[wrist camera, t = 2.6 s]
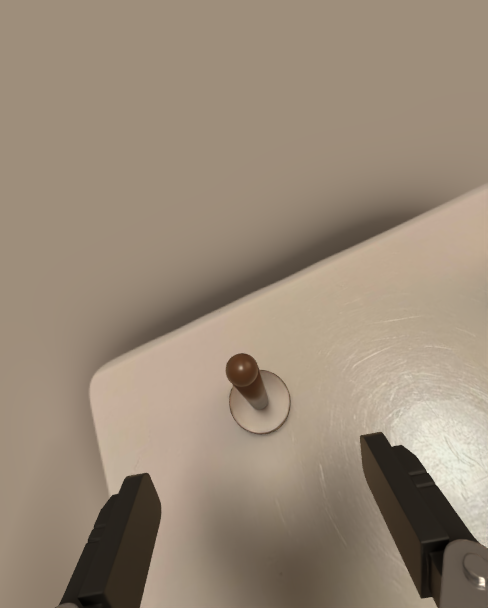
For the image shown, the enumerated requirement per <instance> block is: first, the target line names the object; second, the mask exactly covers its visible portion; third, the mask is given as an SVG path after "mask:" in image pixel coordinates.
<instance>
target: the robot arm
mask: <svg viewBox="0 0 488 608" xmlns="http://www.w3.org/2000/svg"><path fill="white" fill-rule="evenodd" d="M360 444H361V455H362V466H363V471H364V475H365V478H366V481H367V483H368V486H369V488H370V490H371V492H372V494H373V496H374V499H375V501H376V503H377V505H378V507H379V509H380V511H381V514H382V516H383V518H384V520H385V522H386V524H387V526H388V529H389V531H390V533H391V535H392V537H393V539H394V541H395V544H396V546H397V548H398V550H399V552H400V554H401V556H402V559H403V561H404V563H405V565H406V567H407V569H408V571H409V574H410V576H411V578H412V580H413V582H414V584H415V586H416V589H417V591H418V593H419V595H420V597H421V598H428V597H433V599H434V601H435V603H436V605H437V607H438V608H488V548H486V547H485V546H483V545H481V544H480V543H479V542H478V541H477V540H476V539H475V538H474V537H473V535H472V534H471V533H470V531H469V530H468V529H467V527H466V526H465V524H464V523H463V521H462V520H461V519H460V517H459V516H458V514H457V513H456V512H455V510H454V509H453V507H452V506H451V505H450V503H449V502H448V500H447V499H446V497H445V496H444V495H443V493H442V492H441V490H440V489H439V488H438V486H437V485H435V482H434V481H433V479H432V478H431V476H430V475H429V473H427V472H426V469H425V468H424V466H423V465H422V464H421V462H420V461H419V459H418V458H417V457H416V456H415V455H414V454H413V453H412V452H410V451H409V450H408V449H406V448H405V447H404V446H402V445H399V446H393V447H392V446H391V445H390V443H389V442H388V440H387V439H386V437H385V435H384V434H383V433H382V432H377V433H371V434H366V435H361V436H360ZM160 520H161V503H160V499H159V497H158V494H157V492H156V489H155V487H154V485H153V482H152V480H151V477H150V475H149V474H148V473H143V474H137V475H131V476H127V477H126V478H125V479H124V481H123V484H122V486H121V489H120V491H119V494H115V495H112V496H111V497H110V499H109V500H108V501H107V503H106V504H105V505H104V507H103V508H102V509H101V511H100V513H99V515H98V518H97V520H96V522H95V525H94V529H93V530H92V532H91V534H90V536H89V538H88V543H87V544H86V545H85V547H84V550H83V552H82V554H81V556H80V559H79V561H78V563H77V566H76V568H75V570H74V573H73V575H72V577H71V579H70V582H69V584H68V586H67V589H66V591H65V593H64V595H63V598H62V600H61V602H60V604H59V605H58V606H57V607H55V608H140V604H141V600H142V596H143V592H144V587H145V583H146V579H147V575H148V571H149V566H150V562H151V558H152V554H153V549H154V545H155V541H156V537H157V532H158V528H159V524H160Z"/></svg>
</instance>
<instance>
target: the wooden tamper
mask: <svg viewBox="0 0 488 608" xmlns="http://www.w3.org/2000/svg"><path fill="white" fill-rule="evenodd" d="M226 375H227V378H228V380H229V381H230V382H231V383H232V384H233V387H232V390H231V393H230V399H229V405H230V410H231V413H232V416H233V418H234V419H235V421H236V422H237V423H238V424H239V425H240V426H241V427H242V428H243V429H245V430H247V431H249V432H252V433H255V434H268V433H271V432H274V431H276V430H277V429H278V428H280V427H281V426H282V425H283V423H284V422H285V420H286V419H287V416H288V413H289V409H290V395H289V391H288V389H287V387H286V385H285V383H284V382H283V381H282V380H281V379H280V378H279V377H278V376H277V375H275V374H274V373H271V372H269V371H265V370H259V368H258V365H257V362H256V361H255V359H254V358H253V357H251V356H250V355H248V354H244V353H241V354H236V355H234V356H233V357H231V358H230V360H229V361H228V363H227V365H226Z"/></svg>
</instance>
